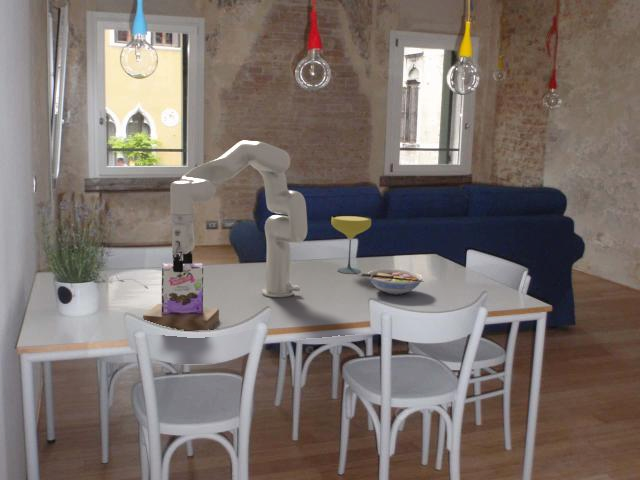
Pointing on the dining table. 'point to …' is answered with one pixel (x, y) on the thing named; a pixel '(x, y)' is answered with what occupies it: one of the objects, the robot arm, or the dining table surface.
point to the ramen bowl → (394, 280)
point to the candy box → (182, 289)
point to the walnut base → (183, 319)
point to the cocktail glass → (350, 231)
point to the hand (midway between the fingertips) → (183, 268)
